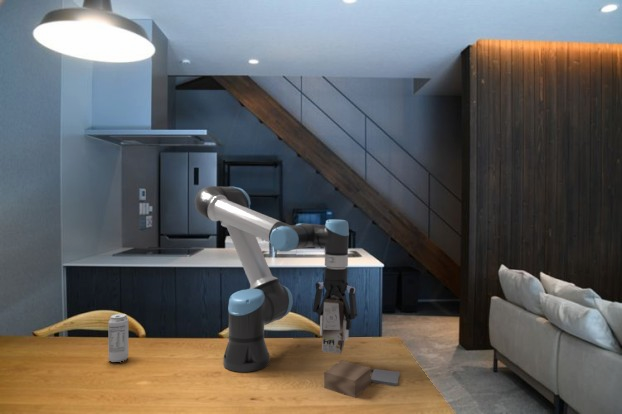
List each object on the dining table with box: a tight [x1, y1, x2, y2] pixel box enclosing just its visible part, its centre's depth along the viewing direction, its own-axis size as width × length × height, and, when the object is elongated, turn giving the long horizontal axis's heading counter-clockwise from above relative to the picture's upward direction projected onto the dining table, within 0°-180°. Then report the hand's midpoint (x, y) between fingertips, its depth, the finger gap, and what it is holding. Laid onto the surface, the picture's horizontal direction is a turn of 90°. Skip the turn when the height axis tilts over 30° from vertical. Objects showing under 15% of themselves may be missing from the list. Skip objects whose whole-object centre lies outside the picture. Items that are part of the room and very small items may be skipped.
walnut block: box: [323, 360, 372, 399], centre depth 115 cm, size 10×10×5 cm
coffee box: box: [321, 295, 346, 355], centre depth 129 cm, size 9×6×16 cm
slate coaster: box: [371, 368, 401, 387], centre depth 120 cm, size 8×8×1 cm
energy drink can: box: [107, 313, 129, 363], centre depth 133 cm, size 6×6×15 cm
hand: (333, 336), depth 130 cm, fingers closed on coffee box, 7 cm apart
